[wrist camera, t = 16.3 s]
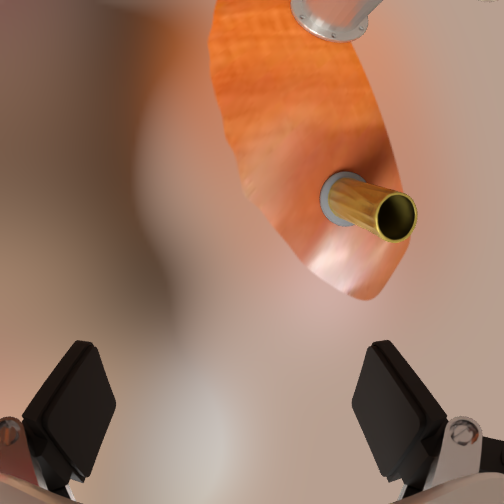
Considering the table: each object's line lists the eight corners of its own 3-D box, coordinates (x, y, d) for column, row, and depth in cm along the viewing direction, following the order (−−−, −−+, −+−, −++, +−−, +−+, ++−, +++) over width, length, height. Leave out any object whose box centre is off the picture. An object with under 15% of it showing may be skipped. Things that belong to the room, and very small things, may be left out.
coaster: (320, 169, 38) (322, 169, 37) (370, 174, 39) (372, 174, 38) (318, 224, 40) (319, 225, 40) (366, 226, 41) (369, 227, 40)
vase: (324, 180, 38) (368, 191, 24) (363, 174, 38) (419, 184, 24) (330, 222, 40) (373, 253, 26) (367, 215, 40) (421, 241, 26)
